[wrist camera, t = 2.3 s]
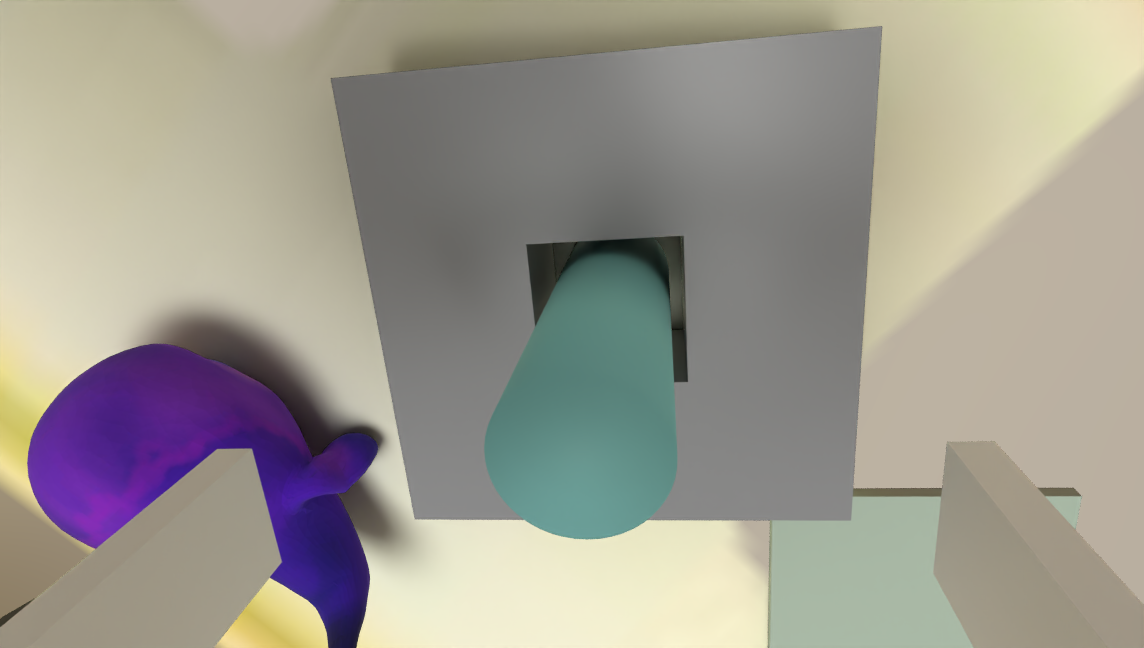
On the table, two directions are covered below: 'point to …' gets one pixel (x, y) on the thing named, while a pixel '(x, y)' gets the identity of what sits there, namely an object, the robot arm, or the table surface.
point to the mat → (869, 574)
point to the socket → (624, 211)
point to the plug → (592, 398)
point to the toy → (182, 441)
